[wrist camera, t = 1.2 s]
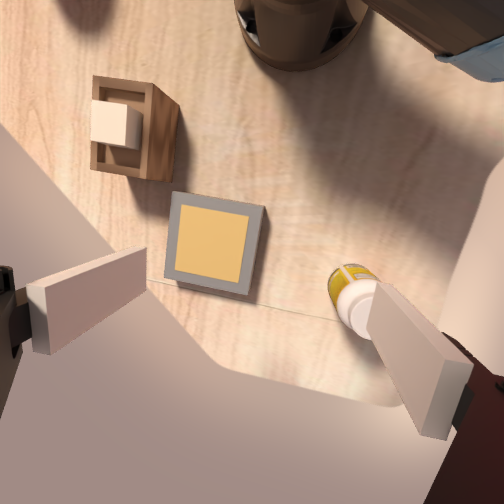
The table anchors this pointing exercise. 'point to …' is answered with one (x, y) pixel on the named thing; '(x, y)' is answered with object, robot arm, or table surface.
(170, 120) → the stained wood crate
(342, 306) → the pill bottle
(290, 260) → the table surface
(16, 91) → the table surface
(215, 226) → the dock
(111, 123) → the block
